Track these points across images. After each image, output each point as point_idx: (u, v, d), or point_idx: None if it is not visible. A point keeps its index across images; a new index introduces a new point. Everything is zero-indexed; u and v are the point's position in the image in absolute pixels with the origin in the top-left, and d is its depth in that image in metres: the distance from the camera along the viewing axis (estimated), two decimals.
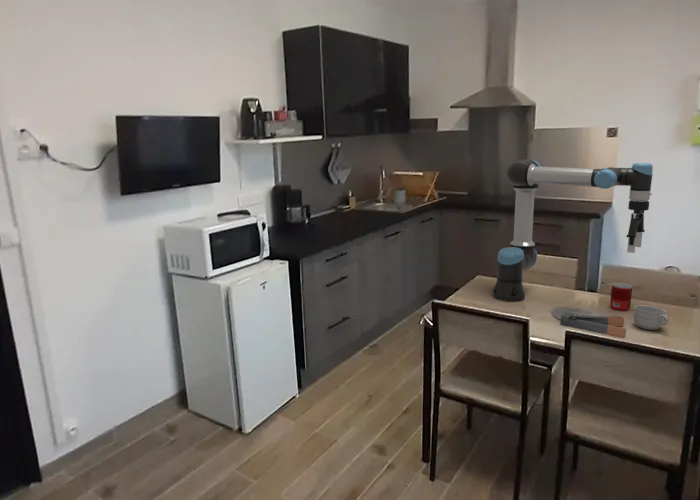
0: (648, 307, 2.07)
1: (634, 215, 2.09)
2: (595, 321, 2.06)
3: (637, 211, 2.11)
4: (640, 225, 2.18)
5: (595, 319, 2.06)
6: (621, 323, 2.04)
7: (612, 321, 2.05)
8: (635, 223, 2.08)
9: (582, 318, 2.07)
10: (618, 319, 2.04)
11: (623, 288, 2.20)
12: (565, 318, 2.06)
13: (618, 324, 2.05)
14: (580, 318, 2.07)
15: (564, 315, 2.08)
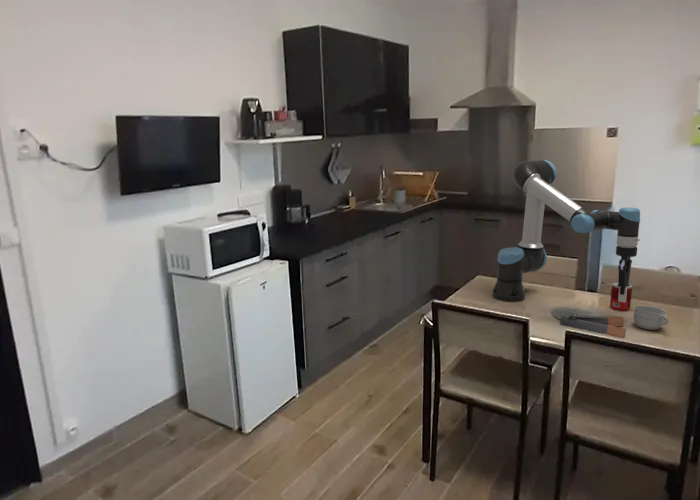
0: (648, 307, 2.07)
1: (622, 267, 2.03)
2: (595, 321, 2.06)
3: (624, 257, 2.04)
4: (626, 275, 2.08)
5: (595, 319, 2.06)
6: (621, 323, 2.04)
7: (612, 321, 2.05)
8: (623, 275, 2.04)
9: (582, 318, 2.07)
10: (618, 319, 2.04)
11: None
12: (565, 318, 2.06)
13: (618, 324, 2.05)
14: (580, 318, 2.07)
15: (564, 315, 2.08)
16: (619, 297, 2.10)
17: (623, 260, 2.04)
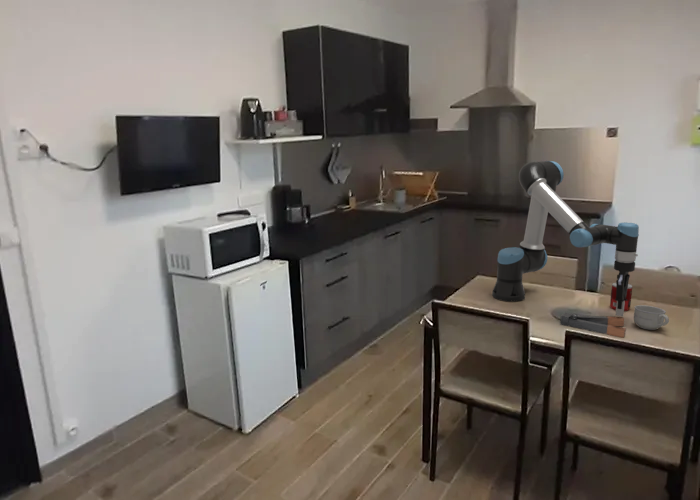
0: (648, 307, 2.07)
1: (619, 282, 2.04)
2: (595, 321, 2.06)
3: (622, 272, 2.05)
4: None
5: (595, 319, 2.06)
6: (621, 323, 2.04)
7: (612, 321, 2.05)
8: (621, 289, 2.05)
9: (582, 318, 2.07)
10: (618, 319, 2.04)
11: None
12: (565, 318, 2.06)
13: (618, 324, 2.05)
14: (580, 318, 2.07)
15: (564, 315, 2.08)
16: (616, 311, 2.12)
17: (621, 275, 2.05)
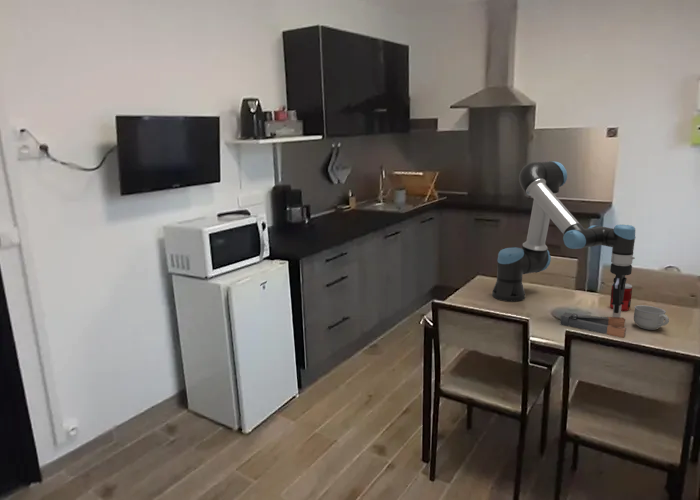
0: (648, 307, 2.07)
1: (616, 286, 1.99)
2: (595, 321, 2.06)
3: (619, 276, 2.00)
4: None
5: (595, 319, 2.06)
6: (622, 324, 2.04)
7: (613, 322, 2.04)
8: (618, 293, 2.00)
9: (582, 318, 2.07)
10: (619, 320, 2.04)
11: None
12: (565, 318, 2.06)
13: (619, 325, 2.04)
14: (580, 318, 2.07)
15: (564, 315, 2.08)
16: (613, 315, 2.07)
17: (618, 278, 2.00)
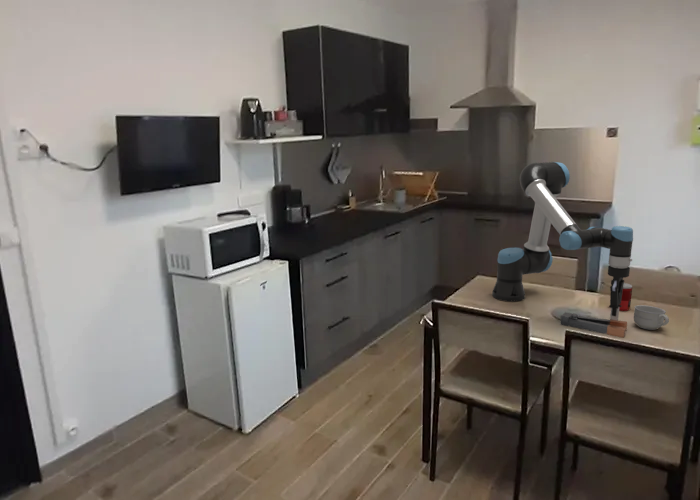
0: (648, 307, 2.07)
1: (613, 289, 1.96)
2: None
3: (617, 278, 1.97)
4: (618, 295, 2.02)
5: (596, 321, 2.04)
6: None
7: (614, 325, 2.01)
8: (615, 296, 1.97)
9: (583, 319, 2.06)
10: (621, 323, 2.00)
11: (623, 288, 2.20)
12: (565, 318, 2.06)
13: None
14: (581, 319, 2.06)
15: (564, 315, 2.08)
16: (611, 318, 2.04)
17: (615, 281, 1.97)
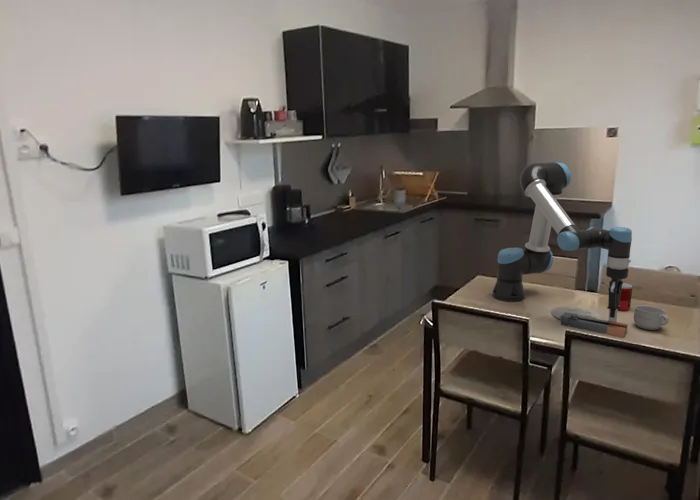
0: (648, 307, 2.07)
1: (612, 290, 1.94)
2: None
3: (615, 279, 1.95)
4: None
5: (596, 322, 2.03)
6: None
7: None
8: (614, 297, 1.95)
9: (583, 319, 2.05)
10: (620, 325, 1.98)
11: (623, 288, 2.20)
12: (565, 318, 2.06)
13: None
14: (581, 319, 2.06)
15: (564, 315, 2.08)
16: (609, 320, 2.02)
17: (613, 282, 1.96)
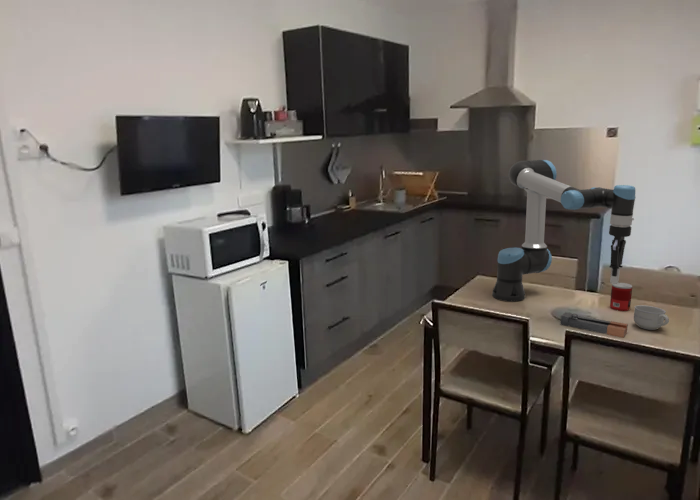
0: (648, 307, 2.07)
1: (614, 247, 1.95)
2: None
3: (618, 237, 1.95)
4: (619, 255, 2.00)
5: (596, 322, 2.03)
6: None
7: None
8: (616, 255, 1.96)
9: (583, 319, 2.05)
10: (620, 325, 1.98)
11: (623, 288, 2.20)
12: (565, 318, 2.06)
13: None
14: (581, 319, 2.06)
15: (564, 315, 2.08)
16: (611, 279, 2.02)
17: (616, 240, 1.96)
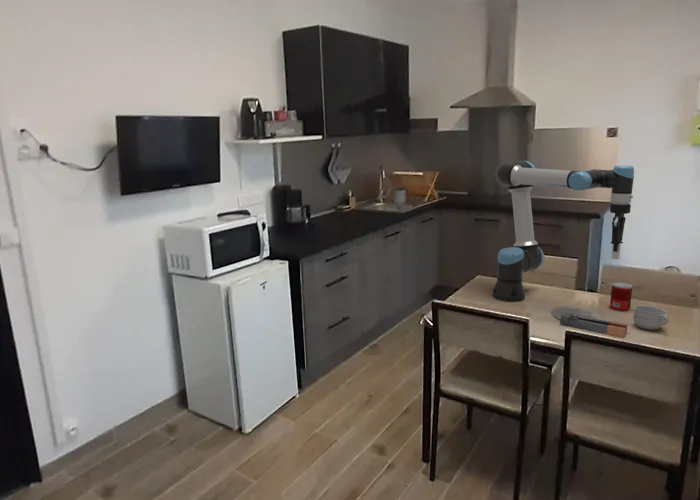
0: (648, 307, 2.07)
1: (615, 224, 2.07)
2: None
3: (618, 214, 2.08)
4: None
5: (596, 322, 2.03)
6: None
7: None
8: (617, 231, 2.08)
9: (583, 319, 2.05)
10: (620, 325, 1.98)
11: (623, 288, 2.20)
12: (565, 318, 2.06)
13: None
14: (581, 319, 2.06)
15: (564, 315, 2.08)
16: (612, 254, 2.15)
17: (617, 217, 2.08)
